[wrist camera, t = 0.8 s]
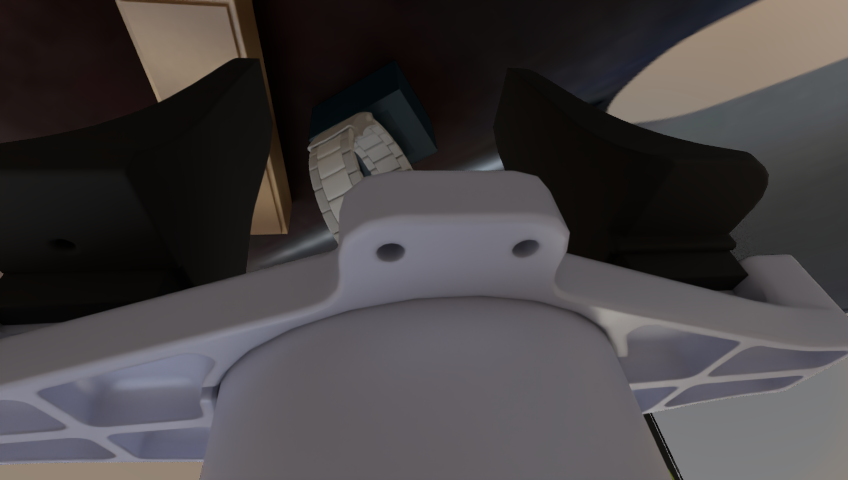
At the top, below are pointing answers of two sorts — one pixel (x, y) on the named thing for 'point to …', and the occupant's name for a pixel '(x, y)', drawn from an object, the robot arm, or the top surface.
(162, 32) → the pencil box
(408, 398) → the robot arm
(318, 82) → the top surface
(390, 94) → the watch
